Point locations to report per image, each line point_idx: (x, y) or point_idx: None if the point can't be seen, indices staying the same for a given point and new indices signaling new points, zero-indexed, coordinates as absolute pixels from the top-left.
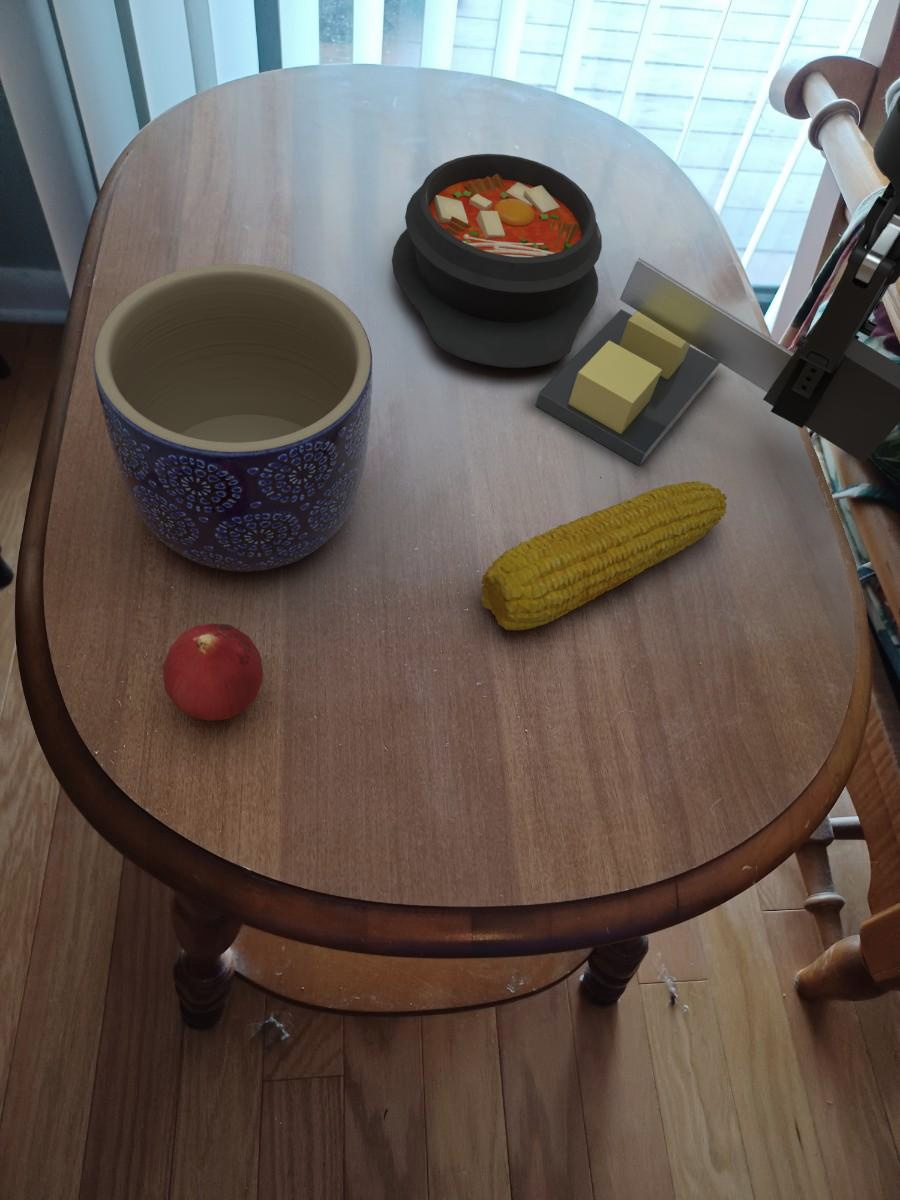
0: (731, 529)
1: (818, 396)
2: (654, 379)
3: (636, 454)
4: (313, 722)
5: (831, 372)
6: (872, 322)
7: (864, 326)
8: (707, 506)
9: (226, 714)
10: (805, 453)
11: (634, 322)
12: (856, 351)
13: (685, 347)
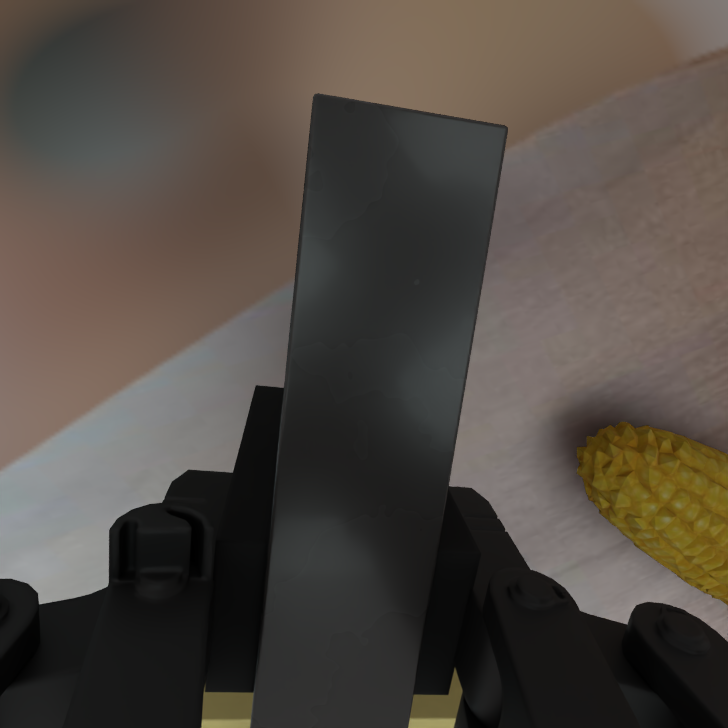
0: (561, 374)
1: None
2: (417, 714)
3: None
4: None
5: (661, 604)
6: (111, 556)
7: (187, 581)
8: (713, 487)
9: None
10: (259, 302)
11: None
12: (363, 528)
13: (237, 694)
